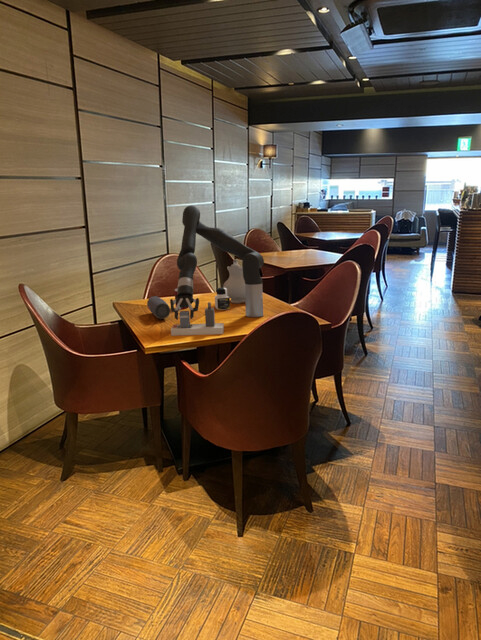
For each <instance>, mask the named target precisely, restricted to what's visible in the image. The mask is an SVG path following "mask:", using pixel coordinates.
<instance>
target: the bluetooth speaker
mask: <svg viewBox="0 0 481 640" xmlns="http://www.w3.org/2000/svg"><path fill="white" fill-rule="evenodd" d="M146 306H147V308H148V310H149V312H151V313H152V315H154V316H155V318H157V319H159V320H160V319H167V318H168V317H169V316H170V315H171V306H170V305H169V304H168V302H166V301H165V300H164V299H163V298H161V297H159V296H156V295H155V296H151V297H149V298H148V300H147V302H146Z"/></svg>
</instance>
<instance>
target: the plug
mask: <svg viewBox="0 0 481 640" xmlns="http://www.w3.org/2000/svg"><path fill="white" fill-rule="evenodd" d="M178 315H179V324H180V328H190V324H191V323H190V322H191V321H190V320H191V319H190V310H181V311H180V310H179V312H178Z"/></svg>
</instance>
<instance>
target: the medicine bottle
mask: <svg viewBox="0 0 481 640" xmlns="http://www.w3.org/2000/svg"><path fill="white" fill-rule="evenodd" d="M215 291H216V295H214V306H215V308H214V309H216V310H217V311H224V310H225V311H226V310H230V309H231V302H230V301H231V298H230V297H229V296H227V288H223V287H217V288H216V290H215Z"/></svg>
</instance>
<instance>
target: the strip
mask: <svg viewBox="0 0 481 640" xmlns="http://www.w3.org/2000/svg"><path fill="white" fill-rule="evenodd" d="M215 316H216V315H215V308H214V307H212V302H207V308H206V307H205V309H204V318H205V323H190V328H180V323H179V324H177V323H176V324H173V325H172V326H171V329H170V336H174V337H175V336H199V335H201V336H202V335H203V336H204V335H205V336H206V335H223V334H224V331H225V327H224V326H225V323H224V322H215V321H216V320H215Z"/></svg>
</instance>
